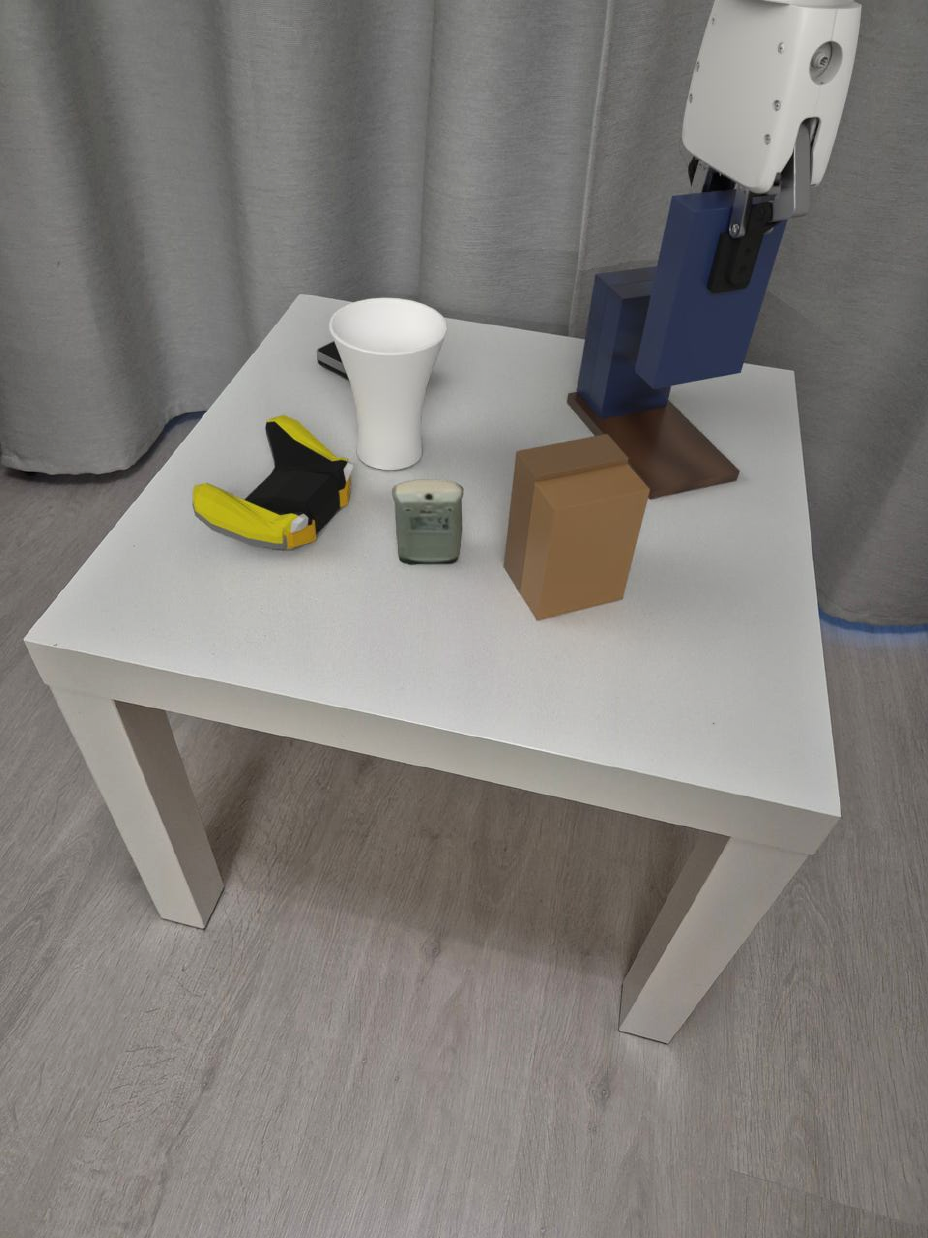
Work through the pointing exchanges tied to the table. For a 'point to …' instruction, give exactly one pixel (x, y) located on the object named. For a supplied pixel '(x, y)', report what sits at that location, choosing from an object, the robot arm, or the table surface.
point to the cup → (388, 373)
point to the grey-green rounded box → (428, 521)
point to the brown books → (573, 525)
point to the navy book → (700, 296)
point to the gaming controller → (281, 493)
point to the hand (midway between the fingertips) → (713, 275)
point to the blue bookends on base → (638, 394)
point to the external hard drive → (331, 359)
